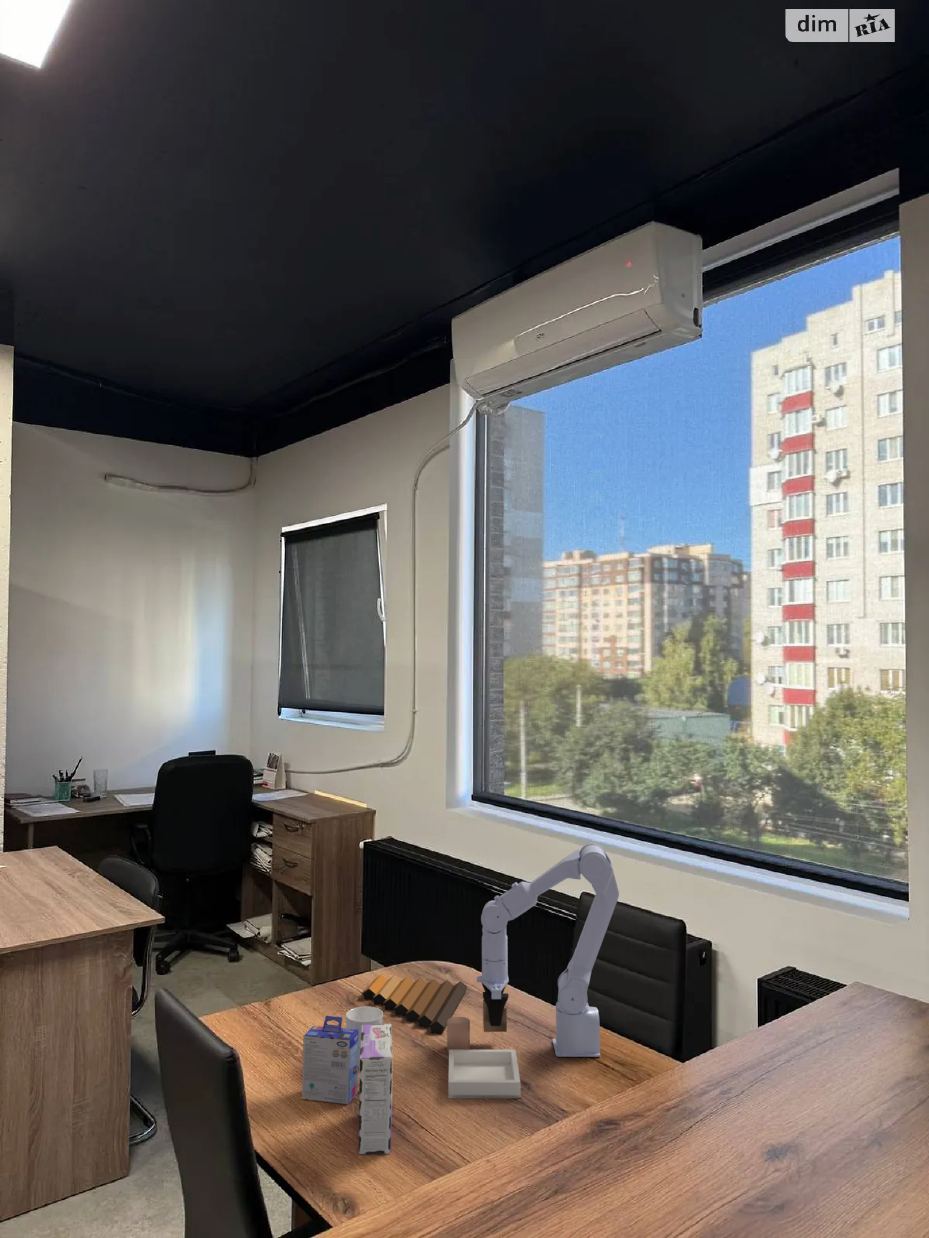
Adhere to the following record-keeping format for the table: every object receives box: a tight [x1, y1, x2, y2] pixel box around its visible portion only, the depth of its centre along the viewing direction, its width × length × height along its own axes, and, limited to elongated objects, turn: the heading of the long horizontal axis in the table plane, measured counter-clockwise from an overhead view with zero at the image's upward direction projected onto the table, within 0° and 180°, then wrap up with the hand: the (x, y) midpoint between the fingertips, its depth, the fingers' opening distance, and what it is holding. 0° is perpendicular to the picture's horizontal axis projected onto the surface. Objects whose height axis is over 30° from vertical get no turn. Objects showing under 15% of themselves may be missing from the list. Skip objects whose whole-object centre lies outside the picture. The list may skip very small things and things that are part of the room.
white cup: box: [345, 1006, 384, 1070], centre depth 179 cm, size 8×8×10 cm
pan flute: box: [361, 974, 468, 1035], centre depth 207 cm, size 25×3×25 cm
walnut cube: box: [482, 998, 508, 1033], centre depth 187 cm, size 5×5×5 cm
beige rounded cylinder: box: [446, 1016, 471, 1053], centre depth 185 cm, size 5×5×6 cm
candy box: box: [357, 1023, 393, 1155], centre depth 152 cm, size 14×6×16 cm, turn 5°
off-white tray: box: [447, 1049, 521, 1099], centre depth 171 cm, size 14×14×3 cm
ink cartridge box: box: [301, 1015, 359, 1105], centre depth 165 cm, size 10×6×14 cm, turn 78°
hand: (494, 1019), depth 187 cm, fingers closed on walnut cube, 5 cm apart
